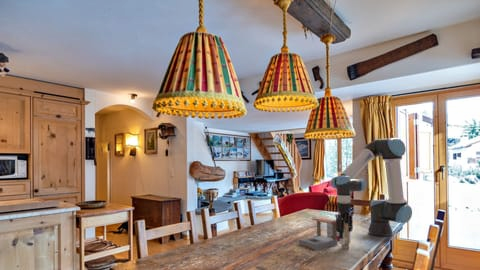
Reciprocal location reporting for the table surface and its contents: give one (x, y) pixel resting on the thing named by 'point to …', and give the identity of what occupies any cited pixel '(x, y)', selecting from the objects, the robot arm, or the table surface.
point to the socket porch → (320, 241)
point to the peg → (346, 237)
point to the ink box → (331, 231)
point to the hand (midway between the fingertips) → (345, 243)
